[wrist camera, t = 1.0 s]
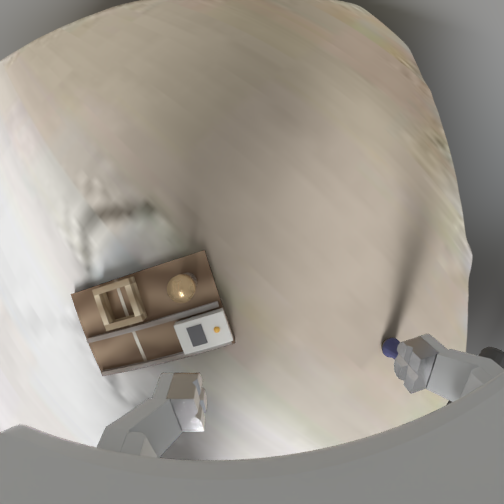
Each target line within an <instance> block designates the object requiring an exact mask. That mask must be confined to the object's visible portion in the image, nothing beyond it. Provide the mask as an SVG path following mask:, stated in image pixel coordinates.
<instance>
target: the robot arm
mask: <svg viewBox="0 0 504 504" xmlns="http://www.w3.org/2000/svg"><path fill="white" fill-rule="evenodd" d="M397 352H398V353H399V354H398V356H397V357H396V358H395V362H394V371H395V373H396V376H397V377H398V378H399V379H401V380H403V381H404V386H405V387H406V389H407V390H408V391H409V392H410V394H411V393H414V392H417V391H420V390H423V389H425V388H426V389H427V390H429V391H431V392H433V393H435V394H437V395H439V396H441V397H443V398H446V399H448V400H450V401H452V403H450V404H448V405H446V406H444V407H442V408H440V409H438V410H436V411H434V412H431V413H429V414H427V415H425V416H423V417H420V418H418V419H416V420H413V421H411V422H408V423H406V424H403V425H401V426H398V427H395V428H393V429H390V430H387V431H384V432H381V433H378V434H375V435H372V436H369V437H365V438H362V439H359V440H355V441H352V442H348V443H344V444H340V445H336V446H332V447H327V448H323V449H318V450H313V451H308V452H302V453H296V454H290V455H283V456H275V457H266V458H255V459H241V460H181V459H167V458H159V457H160V456H161V455H162V454H163V453H164V452H165V451H166V450H167V449H168V448H169V447H170V446H171V445H172V444H173V442H174V441H175V440H176V439H177V438H178V437H179V436H180V435H181V434H182V432H197V431H204V428H205V420H206V419H205V415H204V413H205V412H206V411H207V398H206V392H205V389H204V388H203V387H202V382H203V380H202V377H201V374H200V373H162V374H161V375H160V378H159V381H158V384H157V386H156V389H155V392H154V394H153V397H152V399H147V400H146V401H144V402H143V403H141V404H140V405H138V406H137V407H135V408H134V409H132V410H131V411H129V412H128V413H126V414H125V415H123V416H122V417H120V418H119V419H117V420H116V421H114V422H113V423H111V424H110V425H108V426H107V427H106V428H105V430H104V432H103V435H102V437H101V439H100V441H99V443H98V445H97V448H96V447H92V446H88V445H84V444H80V443H77V442H73V441H70V440H66V439H63V438H60V437H57V436H54V435H51V434H48V433H45V432H42V431H40V430H37V429H35V428H32V427H30V426H27V425H22V424H19V425H16V426H13V427H11V428H9V429H7V430H4V431H2V432H0V504H504V369H503V368H502V367H500V366H499V365H498V364H497V363H496V362H494V361H493V360H492V359H490V358H485V357H481V356H477V355H473V354H469V353H465V352H461V351H457V350H453V349H449V350H448V349H447V348H445V347H444V346H443V345H442V344H441V343H440V342H438V341H437V340H436V339H435V338H434V337H432V336H431V335H430V334H424V335H421V336H418V337H416V338H413V339H409V340H406V341H403V342H400V343H399V344H398V347H397Z"/></svg>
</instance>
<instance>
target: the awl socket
mask: <svg viewBox="0 0 504 504" xmlns="http://www.w3.org/2000/svg"><path fill="white" fill-rule="evenodd" d="M123 286H125V289H126V292H127V295H128V298H129V301H130V304H131V307H132V309H133V312H134V315H130V316H127V317H123V318H120V319H115V317H114V314H113V311H112V308H111V306H110V303H109V300H108V297H107V294H106V292H108V291H111V290H114V289H117V288H120V287H123ZM92 292H93V295H94V298H95V301H96V304H97V307H98V310H99V312H100V315H101V318H102V321H103V323H104V326H105V329H106V331H109V330H113V329H116V328H120V327H124V326H127V325H131V324H135V323H138V322H142V321H144V320H145V319H146V318H147V317H148V316H147V313H146V311H145V308H144V305H143V302H142V299H141V296H140V293H139V290H138V287H137V284H136V281H135V278H134V276H133V277H130V278H127V279H124V280H121V281H118V282H115V283H112V284H109V285H106V286H103V287H100V288H97V289H94V290H92Z"/></svg>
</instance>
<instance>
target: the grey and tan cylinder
mask: <svg viewBox="0 0 504 504" xmlns="http://www.w3.org/2000/svg"><path fill="white" fill-rule="evenodd" d="M196 286H197V278H196V276H195V275H194V274H192V273H184V274H179V275H177V276H175V277H173V278H172V279H171V280H170V281H169V282H168V285H167V293H168V295H169V297H170V298H171V299H172V300H173V301H174V302H177V303H185V302H188V301H189V300H190V299H191V298H192V297H193V295H194V293H195V291H196Z"/></svg>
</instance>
